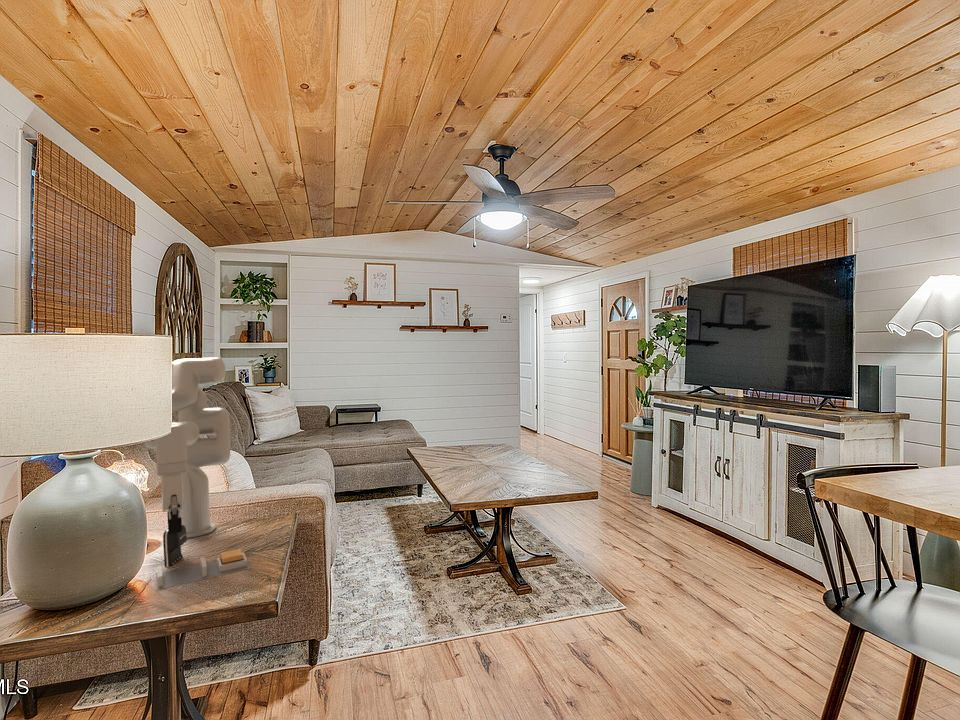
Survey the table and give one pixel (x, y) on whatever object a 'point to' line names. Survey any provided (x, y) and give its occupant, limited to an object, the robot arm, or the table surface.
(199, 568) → the charging dock
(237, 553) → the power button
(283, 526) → the table surface
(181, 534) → the battery charger
